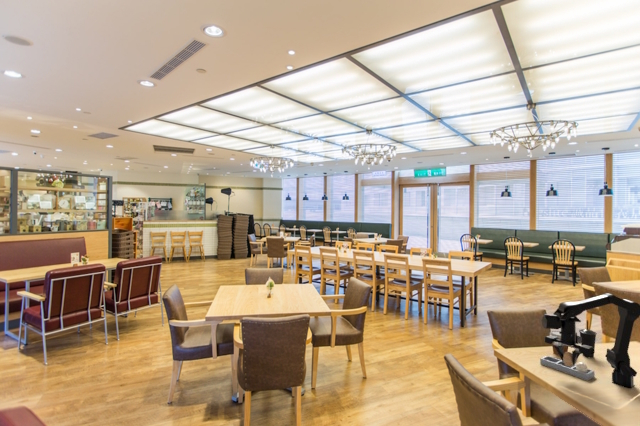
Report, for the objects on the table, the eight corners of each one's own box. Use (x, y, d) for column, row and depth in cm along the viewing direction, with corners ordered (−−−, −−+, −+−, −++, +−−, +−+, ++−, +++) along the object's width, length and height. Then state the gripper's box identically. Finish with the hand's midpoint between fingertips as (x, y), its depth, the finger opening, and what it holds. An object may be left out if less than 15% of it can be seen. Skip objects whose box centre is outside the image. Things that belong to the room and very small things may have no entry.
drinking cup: (583, 358, 180) (582, 321, 181) (576, 352, 187) (576, 317, 188) (599, 359, 178) (599, 323, 178) (592, 354, 185) (592, 319, 186)
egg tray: (594, 378, 157) (594, 370, 157) (587, 381, 153) (587, 374, 153) (547, 362, 175) (547, 355, 175) (540, 365, 171) (540, 358, 171)
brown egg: (575, 366, 155) (575, 352, 155) (571, 368, 153) (571, 354, 153) (565, 362, 158) (565, 349, 159) (561, 364, 156) (561, 351, 156)
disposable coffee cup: (570, 359, 178) (570, 337, 179) (549, 355, 184) (549, 333, 184) (570, 353, 186) (570, 332, 186) (550, 349, 192) (549, 329, 192)
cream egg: (589, 376, 158) (588, 363, 158) (585, 378, 156) (584, 365, 156) (578, 372, 161) (578, 360, 161) (574, 374, 159) (574, 361, 159)
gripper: (599, 332, 152) (600, 366, 151) (554, 322, 168) (555, 352, 168) (588, 337, 146) (589, 372, 146) (543, 325, 163) (543, 356, 162)
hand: (568, 362), depth 156 cm, fingers closed on brown egg, 4 cm apart
